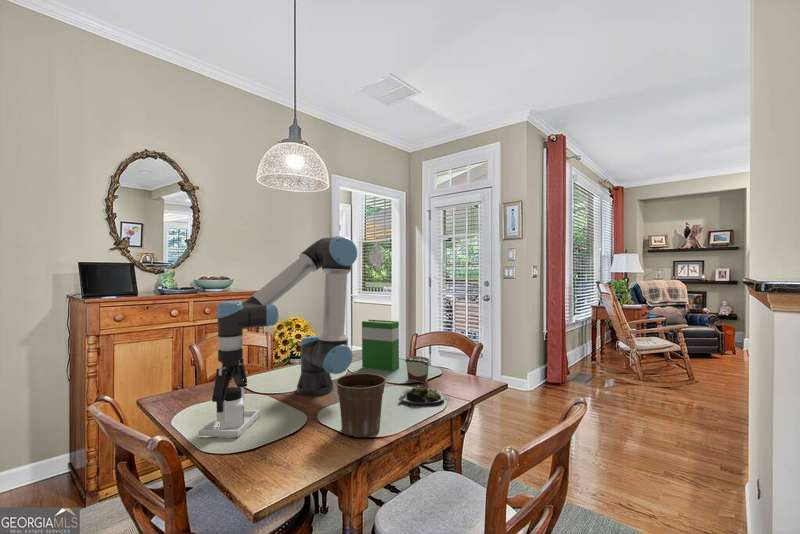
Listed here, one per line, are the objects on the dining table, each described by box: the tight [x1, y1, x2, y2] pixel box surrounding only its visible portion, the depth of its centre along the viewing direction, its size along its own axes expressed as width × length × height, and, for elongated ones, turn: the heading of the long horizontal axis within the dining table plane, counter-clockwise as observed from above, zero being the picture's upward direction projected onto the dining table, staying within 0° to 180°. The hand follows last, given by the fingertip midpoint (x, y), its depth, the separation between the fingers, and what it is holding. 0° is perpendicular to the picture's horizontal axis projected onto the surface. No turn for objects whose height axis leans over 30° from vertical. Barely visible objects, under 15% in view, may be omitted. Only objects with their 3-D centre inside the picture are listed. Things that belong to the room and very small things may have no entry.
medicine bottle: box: [220, 385, 245, 430], centre depth 125 cm, size 7×7×12 cm
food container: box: [404, 356, 431, 384], centre depth 174 cm, size 12×6×10 cm, turn 58°
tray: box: [197, 409, 261, 438], centre depth 125 cm, size 13×17×2 cm
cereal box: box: [361, 319, 400, 372], centre depth 194 cm, size 18×7×24 cm, turn 64°
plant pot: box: [335, 372, 387, 438], centre depth 122 cm, size 16×16×16 cm
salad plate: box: [398, 384, 445, 407], centre depth 151 cm, size 19×18×5 cm
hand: (231, 413), depth 125 cm, fingers open, 12 cm apart
